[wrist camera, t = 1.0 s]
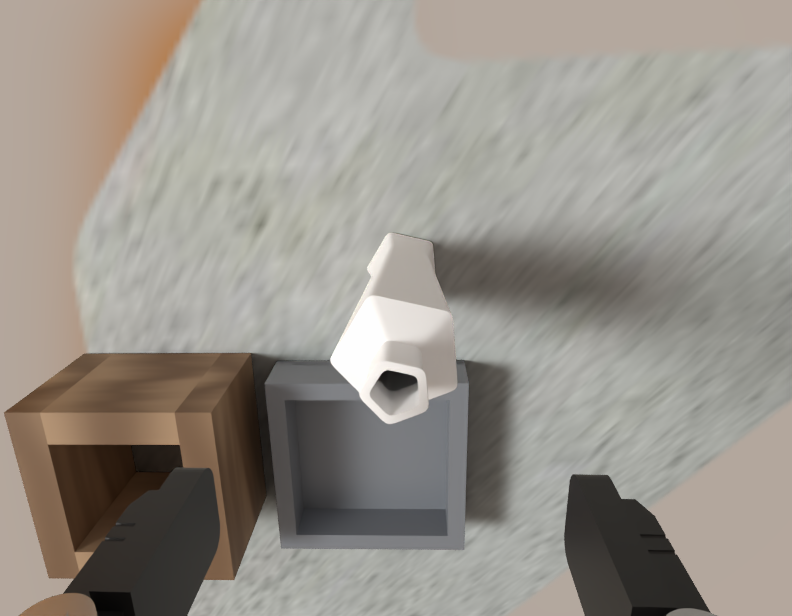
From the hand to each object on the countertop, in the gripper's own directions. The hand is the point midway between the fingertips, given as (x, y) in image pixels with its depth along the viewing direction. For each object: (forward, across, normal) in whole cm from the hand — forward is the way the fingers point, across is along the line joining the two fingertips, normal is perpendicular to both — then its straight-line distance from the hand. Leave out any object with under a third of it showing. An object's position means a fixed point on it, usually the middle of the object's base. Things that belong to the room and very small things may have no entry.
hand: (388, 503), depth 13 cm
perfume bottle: (+20, 0, 0) cm, 20 cm away
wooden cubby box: (+20, +14, +10) cm, 26 cm away
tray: (+20, +2, +11) cm, 23 cm away
